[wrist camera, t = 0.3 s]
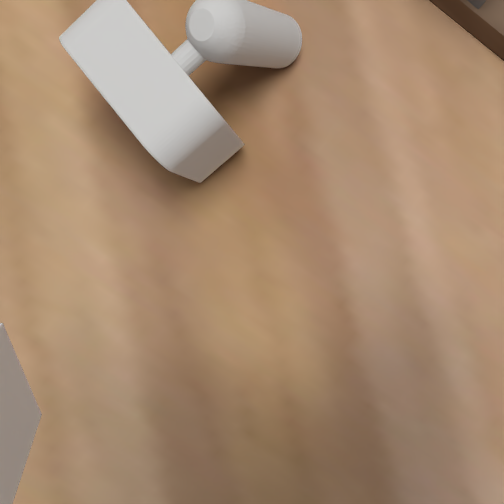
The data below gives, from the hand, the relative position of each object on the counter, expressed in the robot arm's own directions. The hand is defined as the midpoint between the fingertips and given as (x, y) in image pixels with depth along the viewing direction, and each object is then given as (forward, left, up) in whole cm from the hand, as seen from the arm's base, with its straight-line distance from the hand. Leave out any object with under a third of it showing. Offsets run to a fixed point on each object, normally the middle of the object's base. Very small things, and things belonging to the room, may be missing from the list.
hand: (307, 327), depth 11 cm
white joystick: (+13, 0, -17) cm, 22 cm away
